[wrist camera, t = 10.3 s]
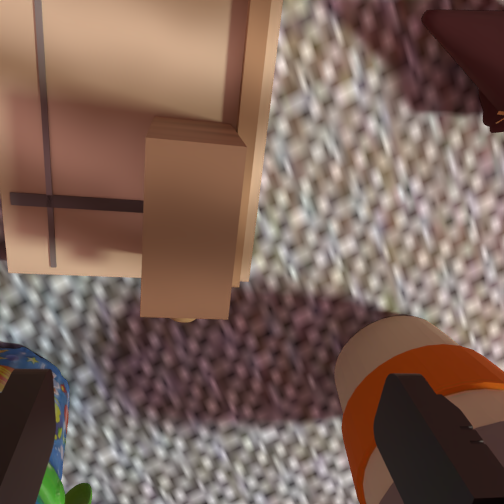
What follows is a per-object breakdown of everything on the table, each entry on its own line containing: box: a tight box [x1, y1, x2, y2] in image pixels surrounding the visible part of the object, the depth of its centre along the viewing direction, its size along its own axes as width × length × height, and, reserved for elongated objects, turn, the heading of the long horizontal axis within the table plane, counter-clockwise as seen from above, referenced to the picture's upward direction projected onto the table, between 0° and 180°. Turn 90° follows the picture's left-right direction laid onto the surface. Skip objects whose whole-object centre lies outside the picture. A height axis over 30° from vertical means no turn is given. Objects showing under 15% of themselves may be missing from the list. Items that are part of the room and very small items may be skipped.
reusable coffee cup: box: [334, 315, 504, 504], centre depth 29 cm, size 13×12×15 cm
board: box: [0, 0, 283, 287], centre depth 24 cm, size 21×14×2 cm, turn 173°
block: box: [140, 116, 247, 322], centre depth 23 cm, size 9×4×7 cm, turn 173°
